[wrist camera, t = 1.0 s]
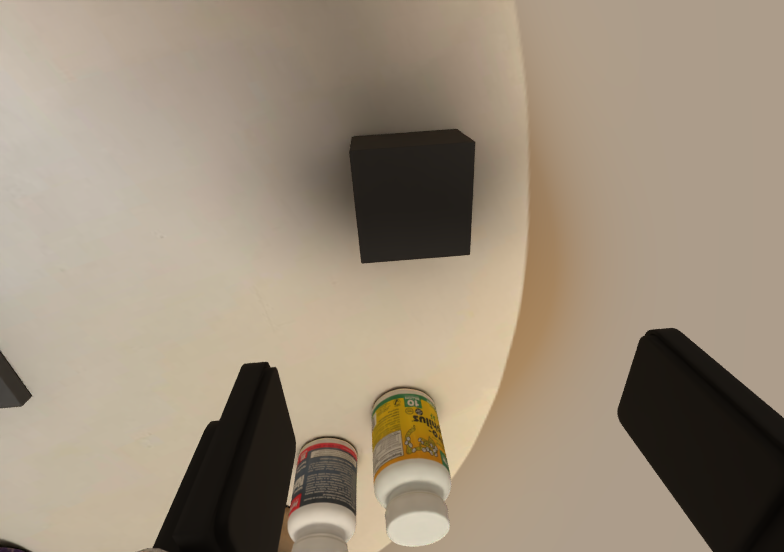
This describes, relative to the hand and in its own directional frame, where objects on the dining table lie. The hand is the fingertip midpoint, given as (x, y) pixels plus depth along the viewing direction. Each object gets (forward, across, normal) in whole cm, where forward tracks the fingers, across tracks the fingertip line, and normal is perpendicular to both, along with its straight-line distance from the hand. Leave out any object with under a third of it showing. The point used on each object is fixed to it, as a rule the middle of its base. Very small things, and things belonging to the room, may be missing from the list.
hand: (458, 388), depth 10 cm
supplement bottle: (+16, +1, +18) cm, 24 cm away
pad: (+16, 0, -1) cm, 16 cm away
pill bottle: (+16, +8, +23) cm, 29 cm away
